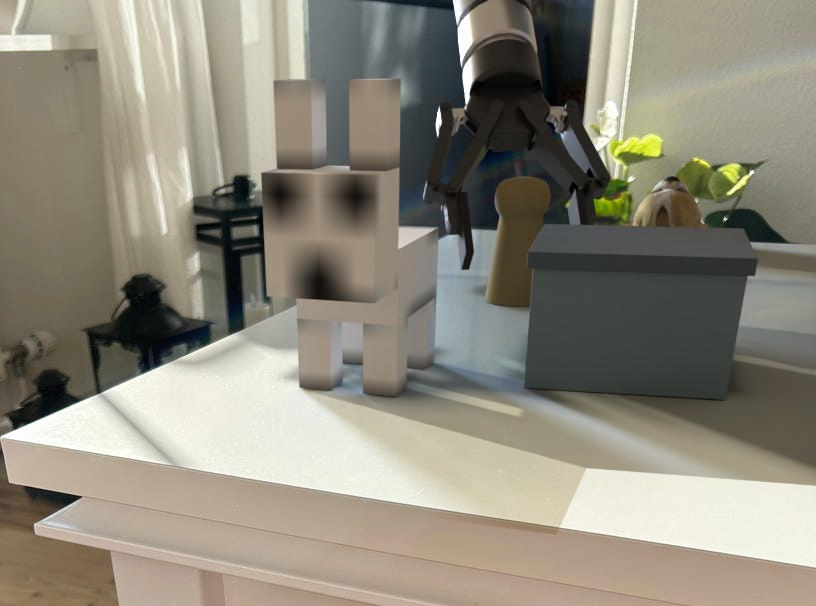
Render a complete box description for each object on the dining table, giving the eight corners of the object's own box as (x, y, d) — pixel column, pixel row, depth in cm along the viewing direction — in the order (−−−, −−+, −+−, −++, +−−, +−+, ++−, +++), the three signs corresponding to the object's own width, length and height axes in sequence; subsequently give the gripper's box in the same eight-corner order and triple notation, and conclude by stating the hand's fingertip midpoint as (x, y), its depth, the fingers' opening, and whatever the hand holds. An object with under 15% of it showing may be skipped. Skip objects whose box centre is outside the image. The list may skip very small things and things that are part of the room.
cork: (515, 309, 97) (524, 182, 91) (471, 298, 101) (477, 177, 96) (559, 300, 100) (570, 177, 94) (515, 290, 104) (523, 172, 99)
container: (721, 355, 82) (744, 228, 77) (731, 402, 71) (758, 258, 66) (534, 345, 85) (544, 223, 80) (517, 389, 74) (527, 251, 70)
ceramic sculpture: (722, 166, 120) (719, 189, 109) (711, 243, 125) (706, 273, 113) (629, 165, 124) (616, 188, 112) (622, 240, 128) (608, 270, 117)
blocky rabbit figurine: (442, 353, 83) (453, 73, 73) (373, 417, 69) (374, 80, 59) (356, 346, 86) (354, 74, 76) (272, 407, 71) (256, 81, 61)
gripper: (601, 92, 106) (632, 279, 100) (381, 97, 104) (400, 286, 99) (624, 32, 99) (659, 229, 93) (388, 36, 97) (409, 237, 91)
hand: (526, 259), depth 96 cm, fingers open, 10 cm apart
